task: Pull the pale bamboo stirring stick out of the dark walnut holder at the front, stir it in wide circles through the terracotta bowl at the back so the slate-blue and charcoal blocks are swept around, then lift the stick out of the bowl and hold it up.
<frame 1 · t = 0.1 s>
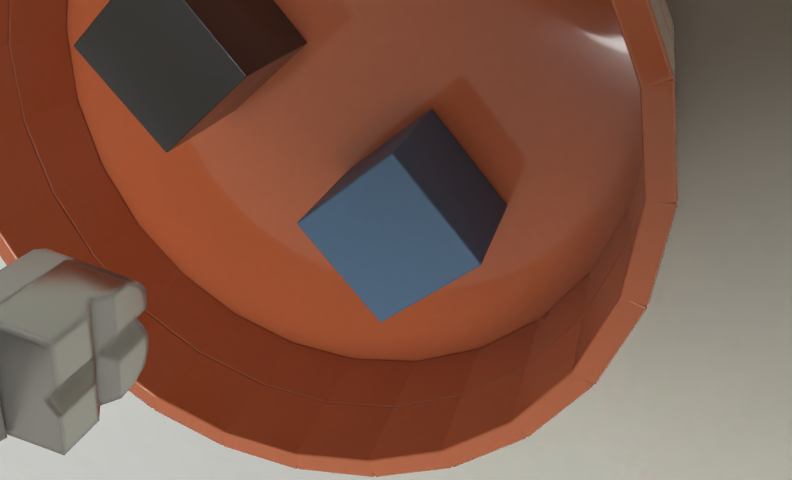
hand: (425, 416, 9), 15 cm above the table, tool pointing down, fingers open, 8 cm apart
mixing bowl: (334, 104, 25), on the table
charcoal block: (228, 30, 24), point 1 cm above the table, touching mixing bowl
blue block: (424, 188, 24), point 1 cm above the table, touching mixing bowl
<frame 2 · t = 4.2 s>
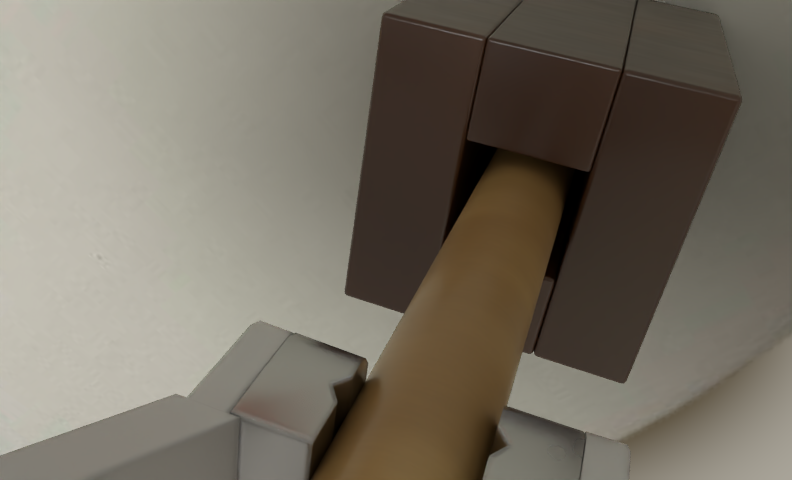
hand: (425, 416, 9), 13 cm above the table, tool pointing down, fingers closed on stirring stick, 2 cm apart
stirring stick: (492, 262, 13), in the stick holder, touching gripper
stick holder: (557, 105, 20), on the table
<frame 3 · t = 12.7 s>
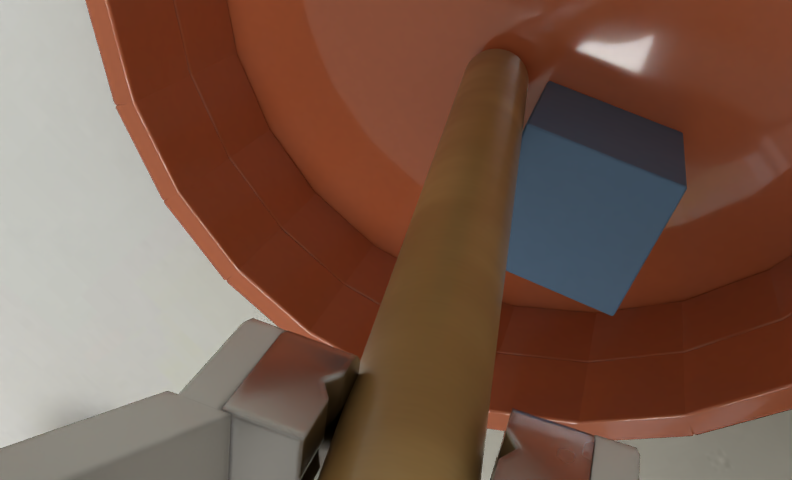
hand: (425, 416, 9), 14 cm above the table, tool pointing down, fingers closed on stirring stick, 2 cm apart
stirring stick: (456, 246, 13), point 10 cm above the table, tilted 8°, touching blue block, gripper
blue block: (586, 167, 21), point 1 cm above the table, touching stirring stick
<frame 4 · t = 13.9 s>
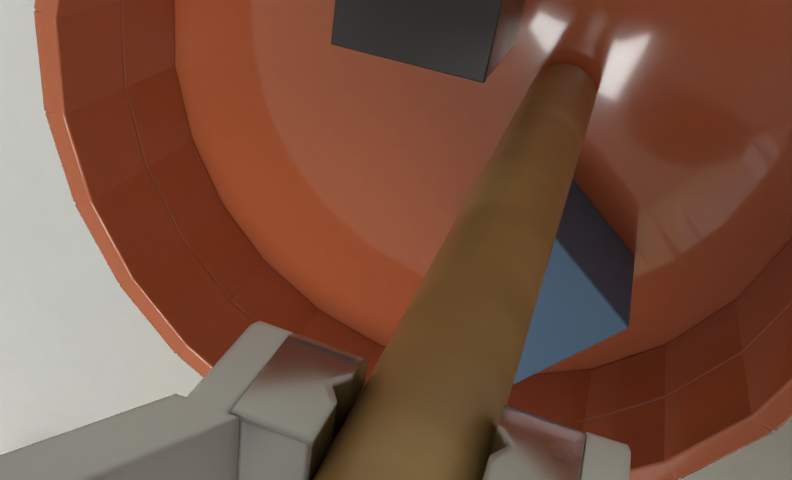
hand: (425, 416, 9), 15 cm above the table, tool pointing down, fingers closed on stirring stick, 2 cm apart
mixing bowl: (471, 96, 22), on the table
stirring stick: (497, 251, 13), point 10 cm above the table, touching gripper
blue block: (544, 239, 23), point 1 cm above the table, touching mixing bowl
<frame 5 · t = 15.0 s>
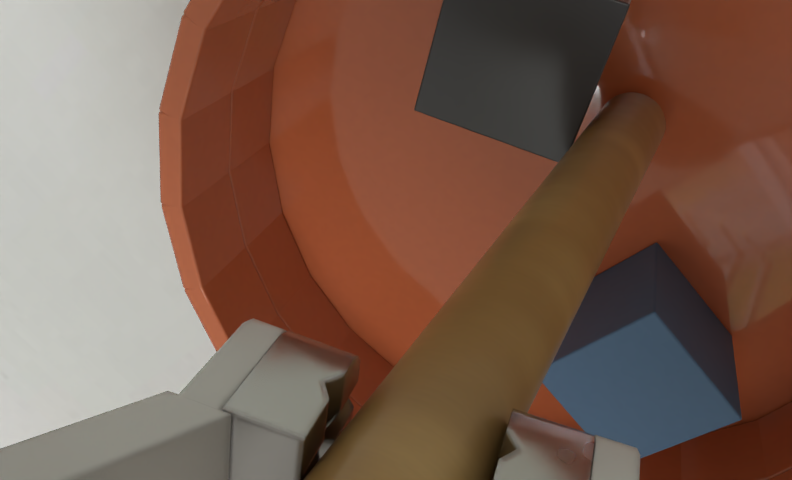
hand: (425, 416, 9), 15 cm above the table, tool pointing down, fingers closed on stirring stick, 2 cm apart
mixing bowl: (569, 179, 23), on the table
charcoal block: (539, 24, 20), point 1 cm above the table, touching mixing bowl, stirring stick
stirring stick: (539, 268, 13), point 10 cm above the table, tilted 8°, touching charcoal block, gripper
blue block: (639, 317, 24), point 1 cm above the table, touching mixing bowl
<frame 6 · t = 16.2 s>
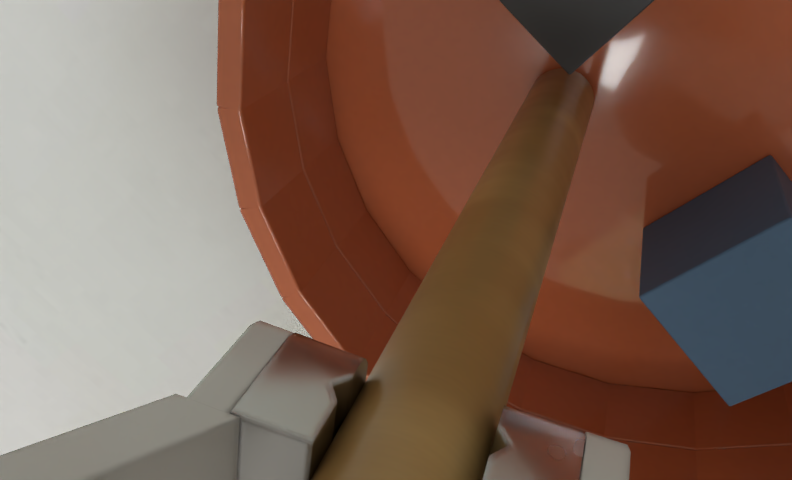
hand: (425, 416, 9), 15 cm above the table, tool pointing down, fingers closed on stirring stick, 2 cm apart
mixing bowl: (669, 87, 20), on the table
stirring stick: (500, 244, 13), in the mixing bowl, point 10 cm above the table, touching gripper
blue block: (743, 244, 21), point 1 cm above the table, touching mixing bowl
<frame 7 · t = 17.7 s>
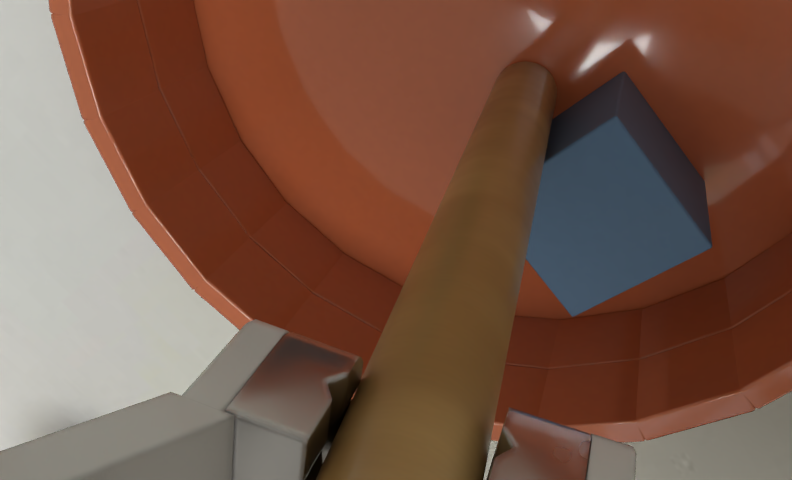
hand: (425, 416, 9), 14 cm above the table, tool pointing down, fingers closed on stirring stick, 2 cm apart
mixing bowl: (514, 5, 21), on the table
stirring stick: (478, 238, 13), in the mixing bowl, point 10 cm above the table, touching blue block, gripper
blue block: (603, 165, 21), point 1 cm above the table, touching stirring stick
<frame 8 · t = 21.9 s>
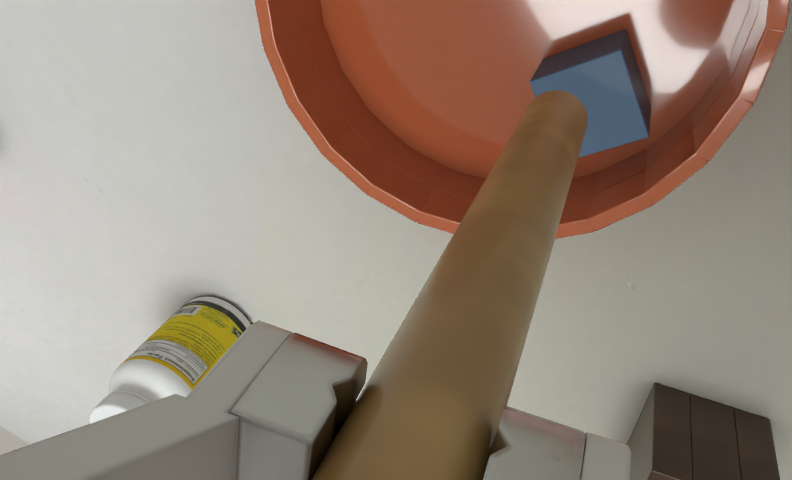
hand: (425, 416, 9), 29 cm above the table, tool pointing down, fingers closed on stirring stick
pill bottle: (222, 329, 51), on the table
stirring stick: (498, 253, 13), point 24 cm above the table, touching gripper
blue block: (596, 83, 35), point 1 cm above the table, touching mixing bowl
stick holder: (691, 440, 43), on the table
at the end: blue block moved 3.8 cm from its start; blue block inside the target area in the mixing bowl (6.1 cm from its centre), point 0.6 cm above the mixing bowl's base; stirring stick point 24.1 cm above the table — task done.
